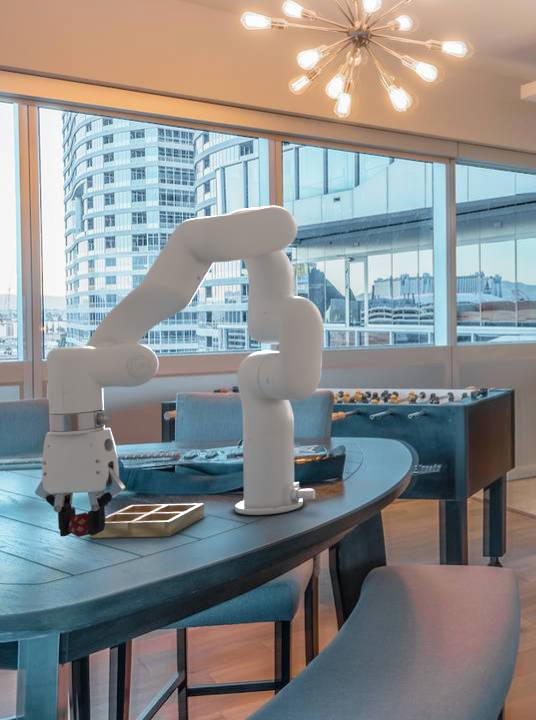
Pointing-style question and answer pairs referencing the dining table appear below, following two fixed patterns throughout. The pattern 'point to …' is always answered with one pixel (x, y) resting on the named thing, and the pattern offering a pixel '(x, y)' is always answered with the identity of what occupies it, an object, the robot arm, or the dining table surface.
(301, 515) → the dining table surface
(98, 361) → the robot arm
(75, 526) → the dice
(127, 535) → the wooden compartment tray
